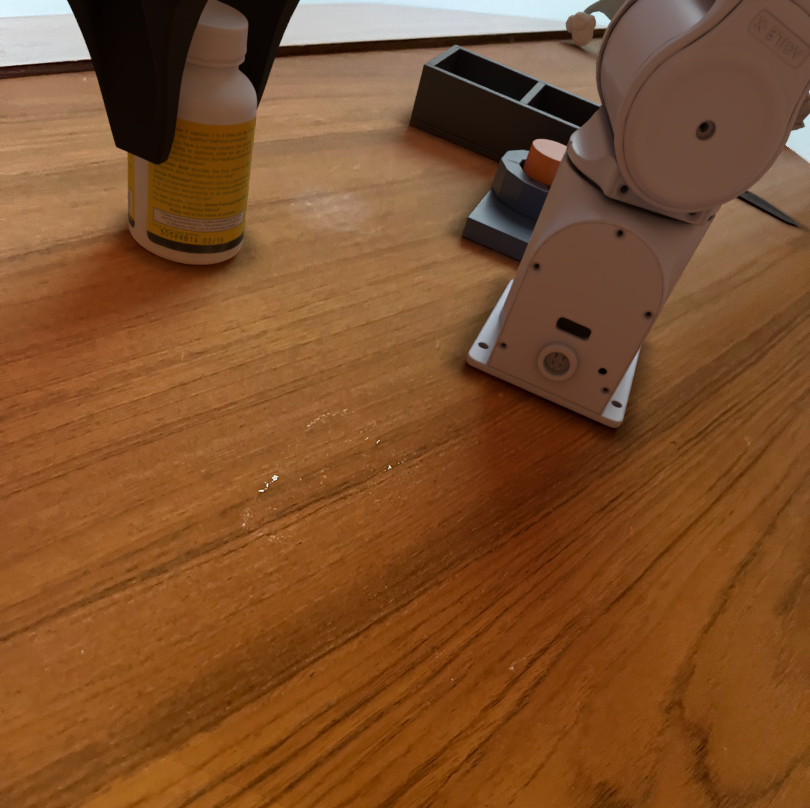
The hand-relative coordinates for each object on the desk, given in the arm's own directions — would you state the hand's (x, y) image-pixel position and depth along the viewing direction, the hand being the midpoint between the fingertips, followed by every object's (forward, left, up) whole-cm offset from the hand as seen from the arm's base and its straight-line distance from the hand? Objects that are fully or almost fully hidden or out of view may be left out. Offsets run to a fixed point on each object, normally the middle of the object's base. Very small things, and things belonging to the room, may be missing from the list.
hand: (190, 129), depth 33 cm
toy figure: (+72, -21, -1) cm, 75 cm away
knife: (+40, -26, -5) cm, 48 cm away
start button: (+19, -14, -3) cm, 24 cm away
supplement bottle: (0, 0, -5) cm, 5 cm away
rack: (+30, -10, -5) cm, 32 cm away
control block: (+17, -15, -5) cm, 23 cm away
